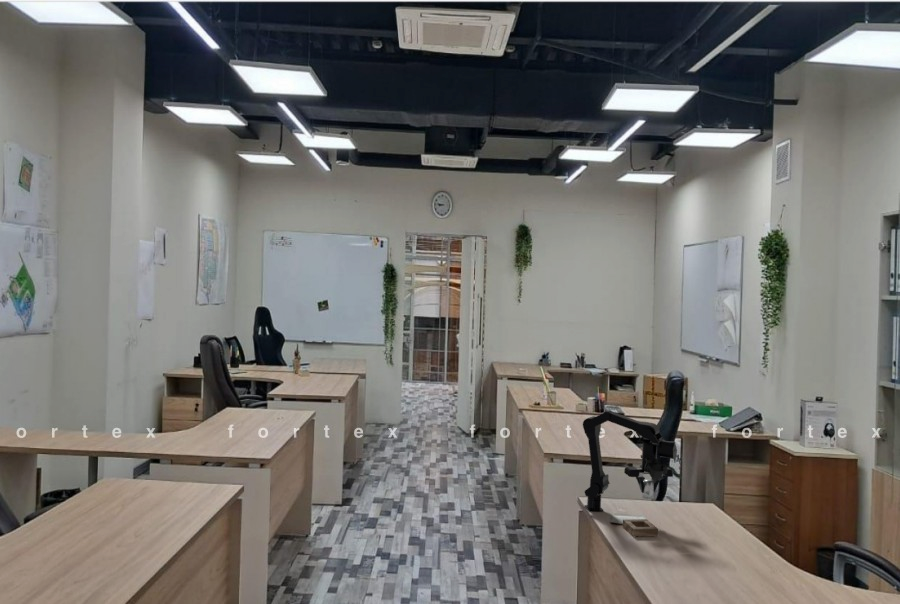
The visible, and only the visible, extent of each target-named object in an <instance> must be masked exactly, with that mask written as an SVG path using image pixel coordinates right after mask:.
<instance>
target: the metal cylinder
mask: <svg viewBox="0 0 900 604" xmlns="http://www.w3.org/2000/svg"><path fill="white" fill-rule="evenodd" d="M653 492H654V480H652V478H650V479H649V478H645V479H644V491H643V493H642V492H641V498H642V499H646V500H654V493H655V492H654V493H653Z"/></svg>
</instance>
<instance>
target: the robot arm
mask: <svg viewBox="0 0 900 604" xmlns="http://www.w3.org/2000/svg"><path fill="white" fill-rule="evenodd" d="M606 422H610V423H612V424H614V425H618V426H621V427H623V428H626V429H629V430H631V431H633V432H635V433H636V434H637V435H639V436H640V439H637V443H640V444H642V448H641V449H642V450H641V455H640V459H641V464H640V466H639V468H637V467H635V466H625V467H624V472H623V473H624V474H625V475H626V476H628V477H630V478H635V479H636V481H637V484H638V486H639V489H640V493H641V494H642V493H643V491H644V479H646V477H644V475H649V476H650V478H651V480H654V492H653V494H654V493H656V490H657V487H658V485H659V483H660V481H661V480H664V479H665V477H667V478H672V477H674V471H673V469H672V468H670V467H668V466H667V464H660V463H659V458H658V456H659V457H660V458H665V459H666V458H667V459H671V460H676V458H677V455H678V449H677V445H676V441H671V440H670V441H669V440H665V438H664V437H663V435H662V433H661V431H660V428H659V426H658V424H657V423H654V422H649V421H640V420H636V419H633V418H631V417H628V416H625V415H622V414H620V413H617V412H614V411H612V410H611V409H610V410H609V409H607V410H605V411H604V412H603V413H600V414H598V415H596V416H595V415H593V416H590V417H587V418H585V419H584V420H583V422H582V428H583V431H584V434H585V436H586V437H587V441H588V447H589V448H588V449H589V456H590V463H591V465H590V467H591V475H590V480H589V483H590V484H589V487H588V488H586V490H584V494H585V497H587V500H586V501H587V503H586V504H584V508H585V509H586V510H587V511H588V512H604V508H602V507H601V506H602V495H603V494H604V492H605V491H606V490H608V488H609V485H610V484H611V483H610V480H609V474H606V473H605V471H604V470H603V469H604V467H603V460H602V452H601V444H600V436H601V431H602V429H601V427H602V424H604V423H606Z"/></svg>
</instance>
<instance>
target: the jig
mask: <svg viewBox="0 0 900 604" xmlns="http://www.w3.org/2000/svg"><path fill="white" fill-rule="evenodd" d="M622 528H623V529H624V530H625V531H626V532H627V533H628V532H629V533H630V534H629V533H628V534H629V535H630V536H632V537H633V538H635V537H634V536H659V528H658V527H657V526H656V525H655V524H653V523H652V522H651V521H649V519H647V518H645V519H643V518H642V519H641V518H639V519H638V518H637V519H635V518H634V519H631V518H630V519H622Z"/></svg>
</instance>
